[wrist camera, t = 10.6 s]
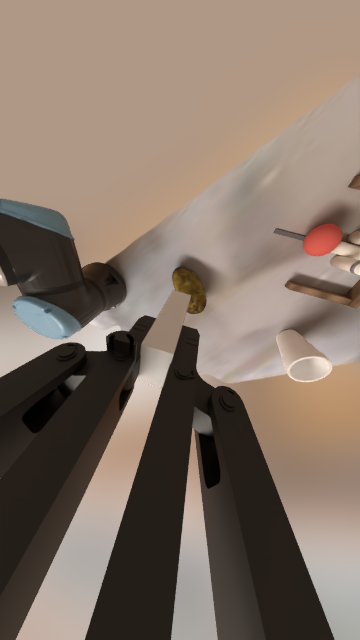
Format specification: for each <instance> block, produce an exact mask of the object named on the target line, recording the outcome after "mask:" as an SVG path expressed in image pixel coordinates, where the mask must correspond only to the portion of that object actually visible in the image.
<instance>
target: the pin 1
mask: <svg viewBox="0 0 360 640" xmlns="http://www.w3.org/2000/svg"><path fill="white" fill-rule="evenodd" d="M330 264H331V265H332V266H335V267H337V268H340V269H343V270H346V271H349V272H351V273H354V274H357V275H360V260H357V259H353V258H349V257H345V256H341V255H337V256H335V257H333V258H332V259H331V261H330Z"/></svg>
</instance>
